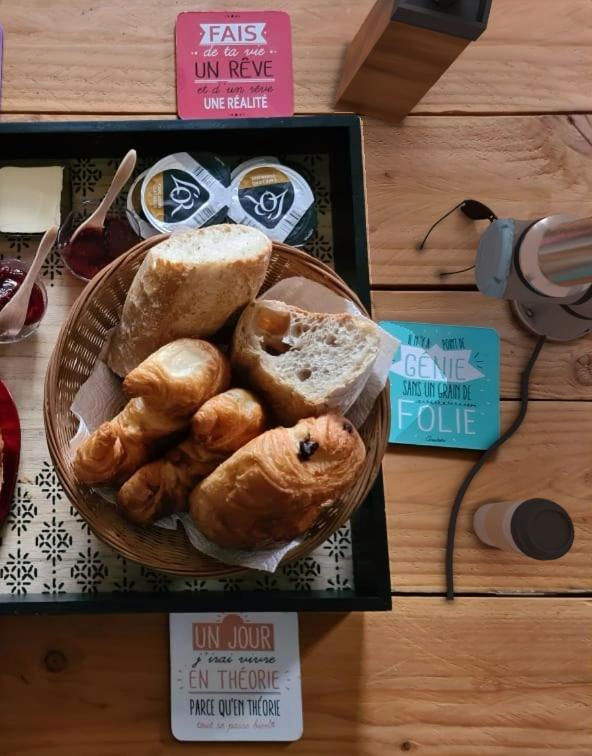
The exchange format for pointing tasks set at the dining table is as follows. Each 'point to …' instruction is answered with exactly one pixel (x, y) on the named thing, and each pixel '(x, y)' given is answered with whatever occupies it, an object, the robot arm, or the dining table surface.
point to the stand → (393, 65)
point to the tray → (445, 16)
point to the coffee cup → (526, 528)
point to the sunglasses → (472, 211)
